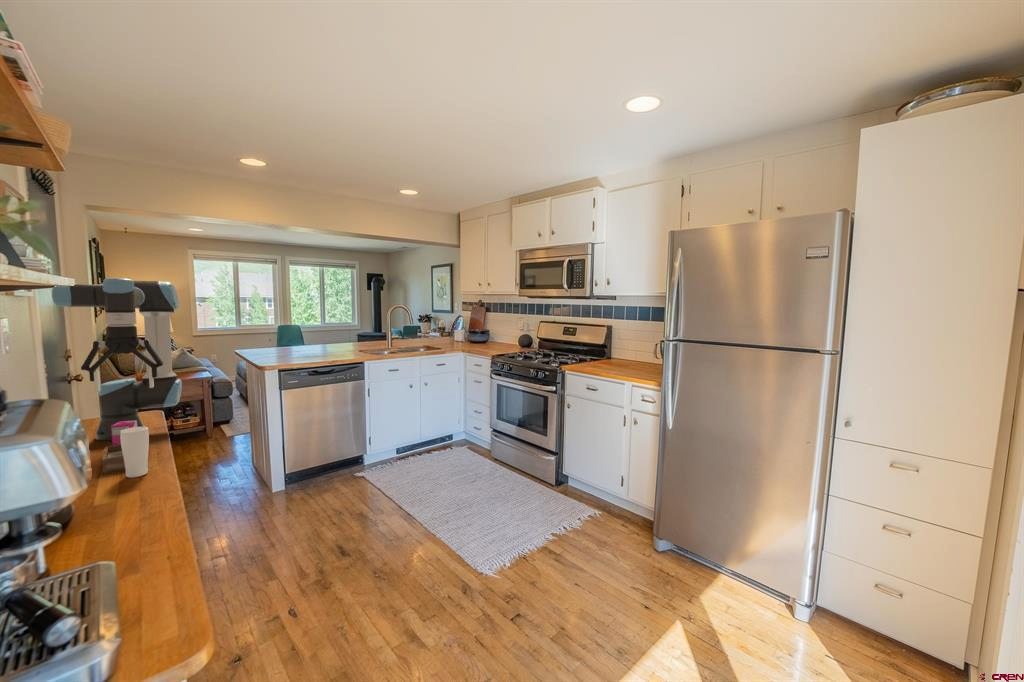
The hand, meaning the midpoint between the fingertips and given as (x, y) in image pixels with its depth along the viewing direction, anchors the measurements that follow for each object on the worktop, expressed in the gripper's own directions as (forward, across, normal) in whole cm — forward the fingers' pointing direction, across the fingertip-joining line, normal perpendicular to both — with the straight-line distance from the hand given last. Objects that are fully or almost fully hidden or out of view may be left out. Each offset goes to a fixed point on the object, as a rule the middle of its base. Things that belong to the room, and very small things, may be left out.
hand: (125, 389), depth 143 cm
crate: (+26, -2, +4) cm, 27 cm away
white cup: (+27, +4, -11) cm, 29 cm away
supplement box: (+27, -4, +18) cm, 33 cm away
